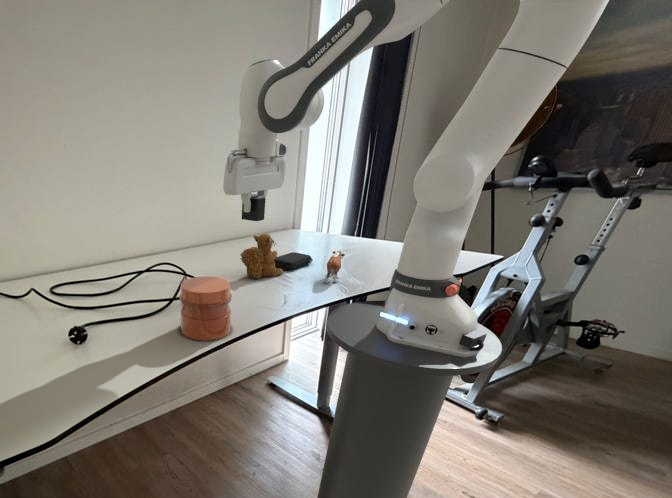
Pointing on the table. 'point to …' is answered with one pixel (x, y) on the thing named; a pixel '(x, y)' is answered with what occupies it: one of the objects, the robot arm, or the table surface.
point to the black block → (255, 208)
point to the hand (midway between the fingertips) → (253, 210)
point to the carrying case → (292, 260)
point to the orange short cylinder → (205, 308)
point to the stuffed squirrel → (261, 258)
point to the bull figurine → (334, 264)
